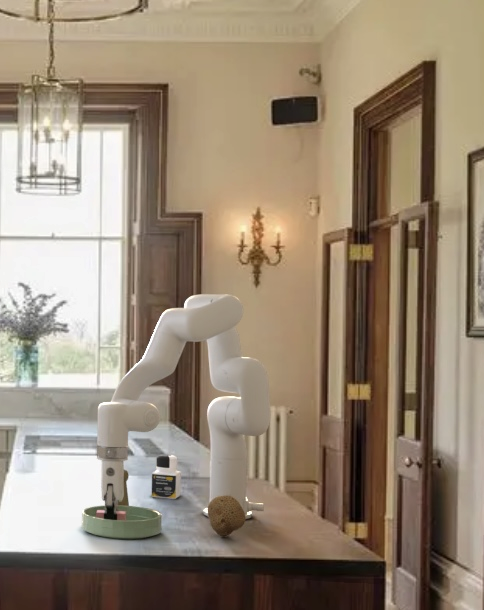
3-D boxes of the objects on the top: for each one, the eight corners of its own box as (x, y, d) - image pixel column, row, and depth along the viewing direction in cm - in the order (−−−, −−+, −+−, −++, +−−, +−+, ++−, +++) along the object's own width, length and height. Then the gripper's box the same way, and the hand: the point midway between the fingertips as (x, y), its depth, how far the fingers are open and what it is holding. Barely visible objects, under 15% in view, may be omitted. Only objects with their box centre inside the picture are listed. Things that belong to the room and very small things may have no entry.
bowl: (162, 525, 254) (162, 507, 254) (159, 542, 235) (159, 523, 235) (86, 521, 258) (87, 503, 258) (77, 537, 239) (77, 518, 239)
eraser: (125, 527, 248) (125, 511, 248) (124, 530, 245) (125, 513, 245) (97, 526, 249) (97, 509, 249) (96, 528, 246) (96, 512, 246)
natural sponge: (245, 534, 246) (245, 493, 246) (245, 542, 237) (245, 499, 237) (207, 531, 248) (208, 490, 248) (205, 539, 239) (206, 497, 240)
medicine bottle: (151, 497, 293) (152, 455, 293) (157, 493, 300) (158, 452, 300) (175, 499, 290) (176, 457, 290) (180, 495, 297) (181, 454, 297)
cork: (128, 512, 270) (129, 471, 270) (105, 510, 271) (106, 470, 271) (130, 508, 276) (131, 467, 276) (108, 506, 277) (109, 466, 277)
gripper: (125, 458, 238) (124, 536, 238) (129, 449, 254) (128, 522, 254) (93, 457, 239) (92, 534, 239) (100, 448, 256) (98, 520, 256)
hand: (110, 527), depth 247 cm, fingers closed on eraser, 3 cm apart
